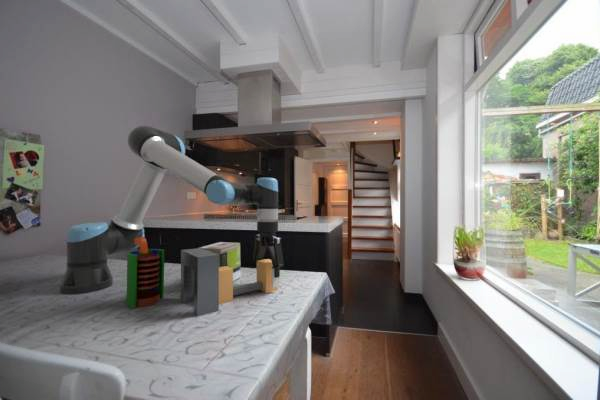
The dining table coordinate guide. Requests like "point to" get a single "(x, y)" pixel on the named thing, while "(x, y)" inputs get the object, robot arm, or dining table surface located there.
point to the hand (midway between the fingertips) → (267, 283)
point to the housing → (200, 280)
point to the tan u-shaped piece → (262, 284)
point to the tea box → (227, 256)
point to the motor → (144, 275)
